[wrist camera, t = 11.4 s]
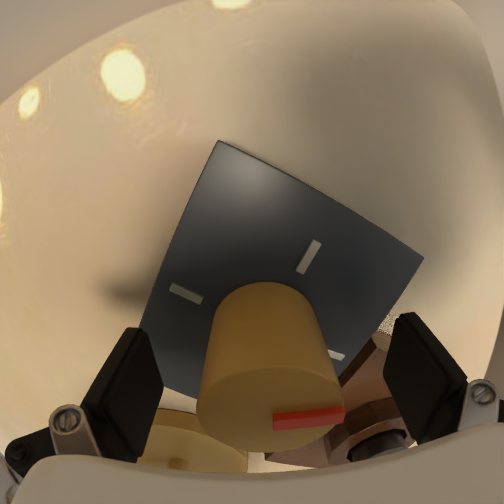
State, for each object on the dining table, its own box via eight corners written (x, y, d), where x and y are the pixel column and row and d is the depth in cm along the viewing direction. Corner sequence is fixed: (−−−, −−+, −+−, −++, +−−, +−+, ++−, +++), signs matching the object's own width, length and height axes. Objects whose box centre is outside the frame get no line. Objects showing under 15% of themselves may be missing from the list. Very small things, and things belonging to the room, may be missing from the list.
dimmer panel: (224, 142, 12) (217, 139, 9) (400, 241, 14) (426, 259, 11) (139, 342, 15) (124, 371, 13) (286, 398, 17) (290, 429, 15)
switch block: (363, 324, 15) (389, 369, 11) (452, 361, 17) (476, 394, 13) (263, 437, 19) (265, 480, 15) (358, 452, 20) (368, 486, 16)
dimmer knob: (218, 366, 13) (207, 460, 8) (207, 283, 11) (180, 375, 6) (311, 361, 13) (334, 452, 8) (317, 278, 11) (360, 365, 6)
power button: (375, 424, 13) (384, 446, 12) (410, 428, 14) (419, 447, 12) (338, 455, 15) (344, 475, 13) (375, 457, 15) (381, 475, 13)
